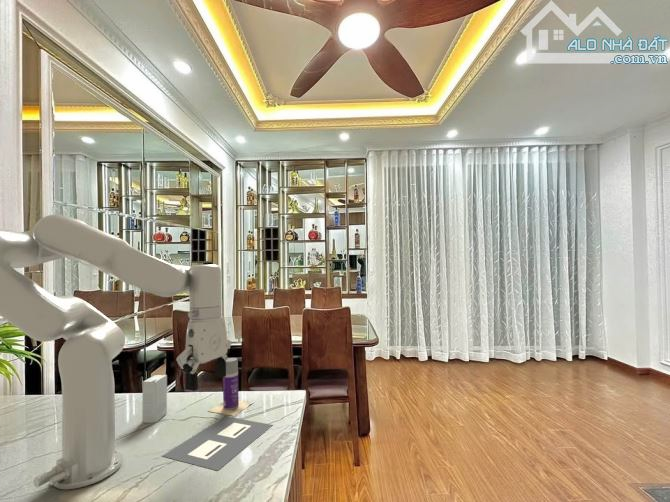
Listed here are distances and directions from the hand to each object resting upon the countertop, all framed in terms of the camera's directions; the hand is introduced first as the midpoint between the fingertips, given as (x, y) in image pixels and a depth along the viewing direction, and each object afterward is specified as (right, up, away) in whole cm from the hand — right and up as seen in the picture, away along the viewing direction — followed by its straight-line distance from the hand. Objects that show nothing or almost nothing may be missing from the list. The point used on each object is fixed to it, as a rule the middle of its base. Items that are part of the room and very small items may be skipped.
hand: (206, 382), depth 83 cm
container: (-1, -17, +24) cm, 29 cm away
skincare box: (-22, -18, +17) cm, 33 cm away
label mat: (+2, -16, +4) cm, 17 cm away
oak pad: (-1, -17, +24) cm, 30 cm away
